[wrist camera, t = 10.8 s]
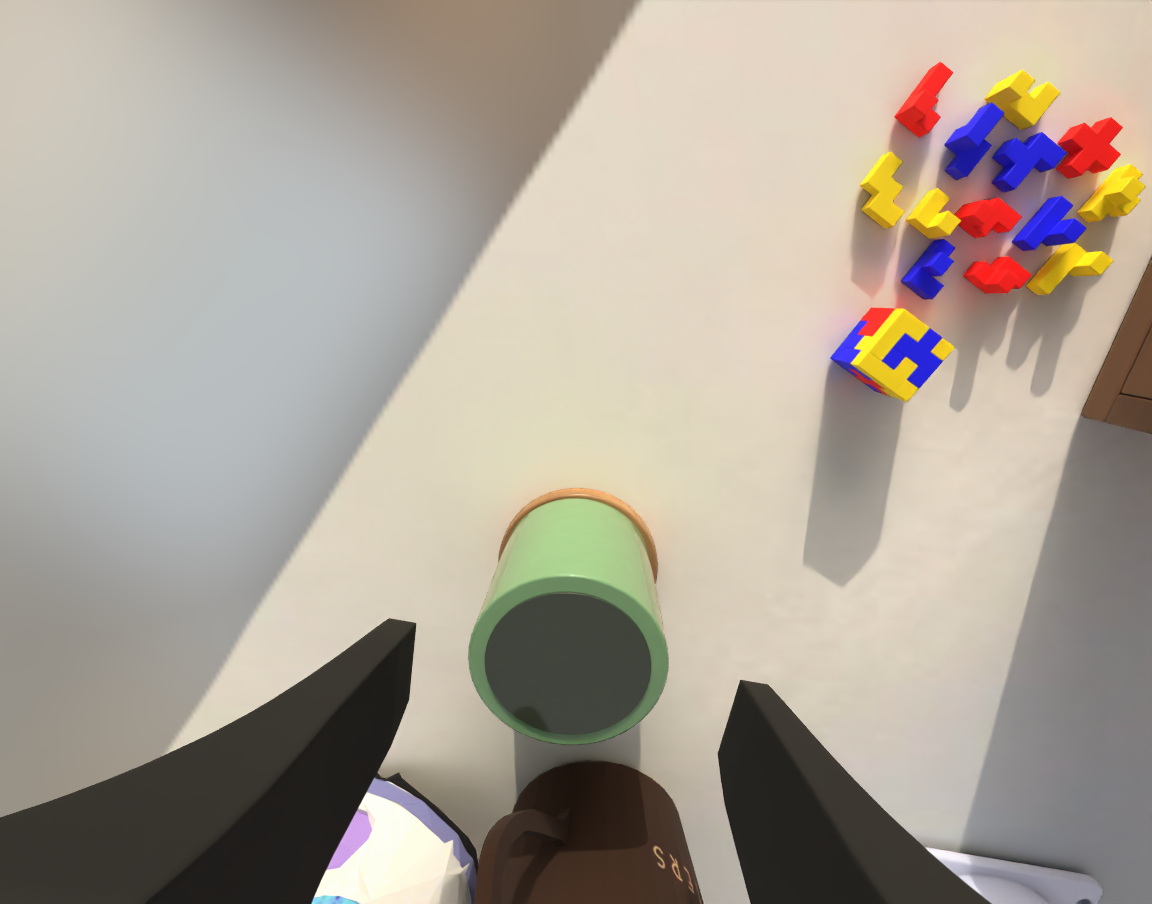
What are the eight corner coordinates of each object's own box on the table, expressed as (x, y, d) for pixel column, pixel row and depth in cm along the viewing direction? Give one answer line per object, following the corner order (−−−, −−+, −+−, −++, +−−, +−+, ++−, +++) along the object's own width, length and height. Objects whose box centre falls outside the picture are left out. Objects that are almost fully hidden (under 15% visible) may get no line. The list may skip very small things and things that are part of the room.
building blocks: (1161, 178, 13) (1236, 162, 12) (931, 432, 15) (969, 448, 14) (970, 13, 13) (1024, -28, 11) (755, 304, 15) (774, 304, 13)
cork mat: (639, 638, 18) (640, 650, 17) (492, 613, 18) (488, 624, 17) (670, 502, 16) (673, 509, 16) (511, 474, 16) (508, 481, 16)
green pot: (664, 512, 16) (690, 596, 11) (634, 641, 17) (646, 762, 13) (513, 485, 16) (479, 560, 11) (494, 617, 17) (457, 730, 13)
